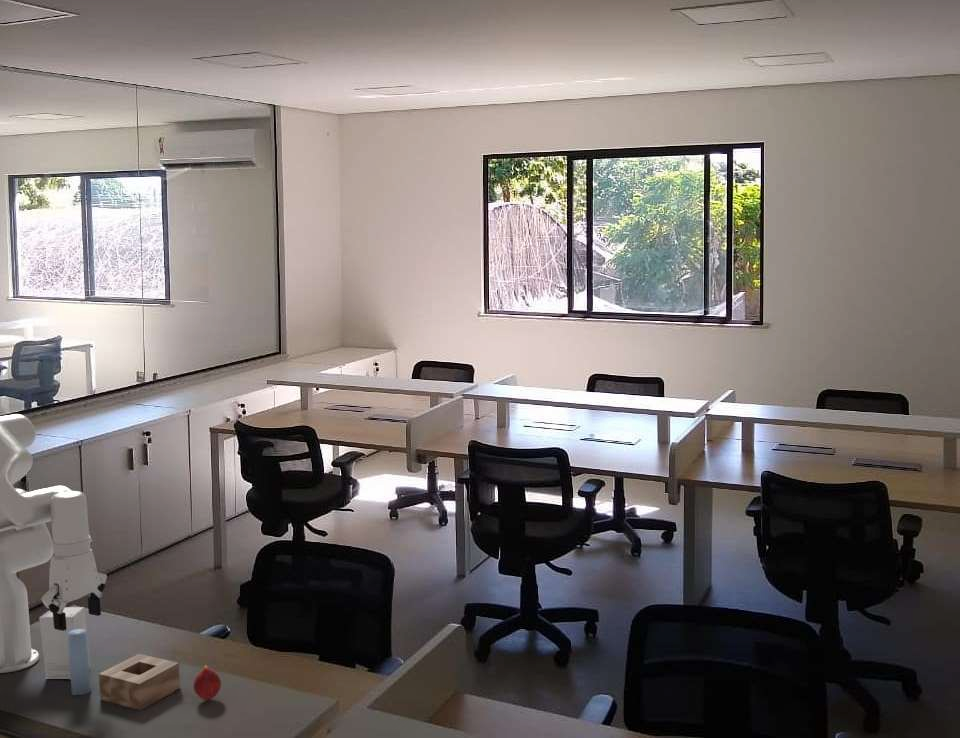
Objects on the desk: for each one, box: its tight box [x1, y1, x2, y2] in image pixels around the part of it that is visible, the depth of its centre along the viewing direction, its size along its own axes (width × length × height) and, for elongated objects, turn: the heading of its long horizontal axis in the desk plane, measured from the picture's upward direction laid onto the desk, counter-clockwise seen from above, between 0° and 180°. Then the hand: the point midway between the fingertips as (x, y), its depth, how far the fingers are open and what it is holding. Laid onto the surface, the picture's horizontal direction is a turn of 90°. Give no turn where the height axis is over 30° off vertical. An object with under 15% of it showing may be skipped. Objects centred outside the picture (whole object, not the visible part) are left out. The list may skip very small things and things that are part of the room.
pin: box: [68, 629, 92, 696], centre depth 234 cm, size 4×4×14 cm
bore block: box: [98, 653, 181, 711], centre depth 233 cm, size 12×12×6 cm
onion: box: [193, 665, 222, 702], centre depth 229 cm, size 6×6×8 cm
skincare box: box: [39, 606, 91, 681], centre depth 242 cm, size 8×7×16 cm
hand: (78, 622), depth 232 cm, fingers open, 9 cm apart
